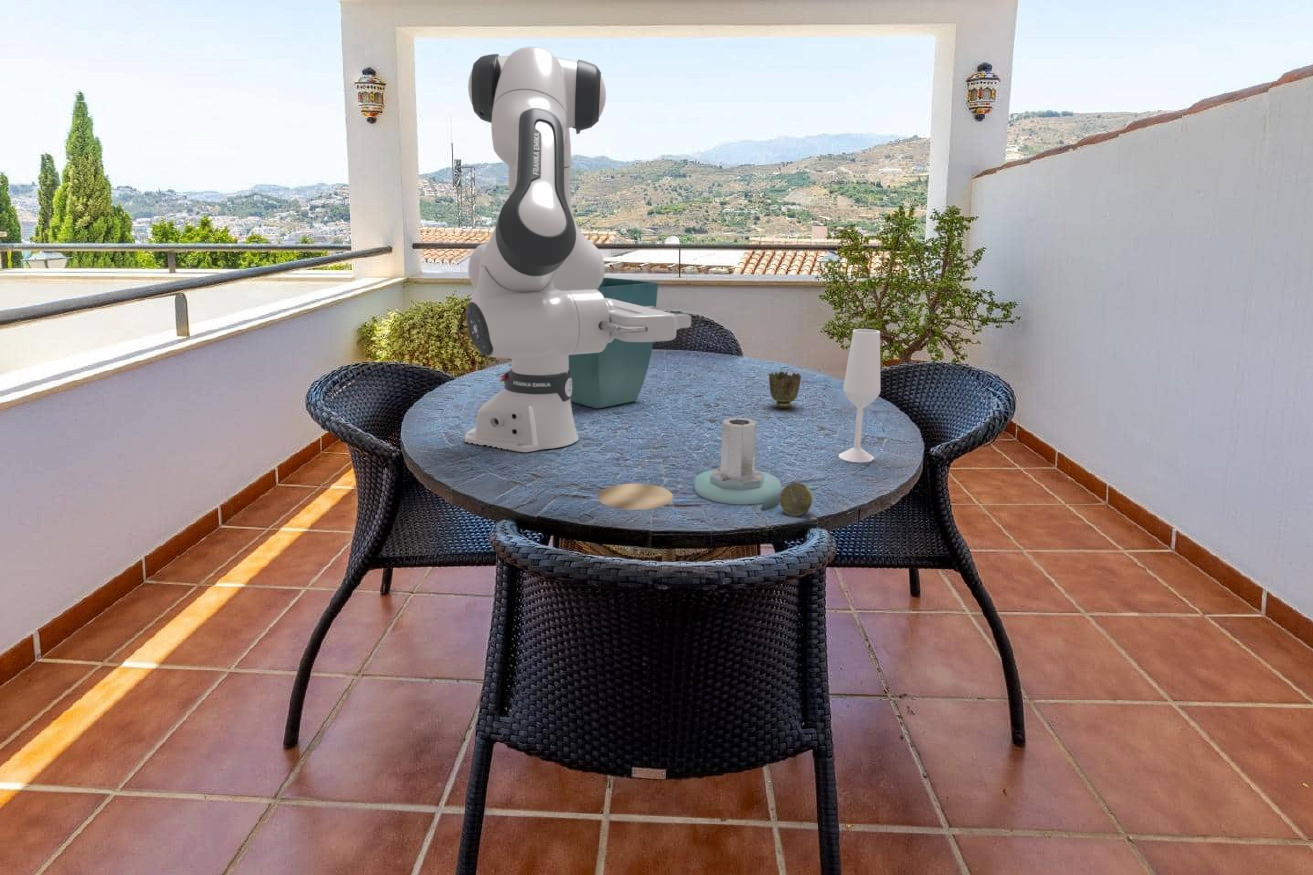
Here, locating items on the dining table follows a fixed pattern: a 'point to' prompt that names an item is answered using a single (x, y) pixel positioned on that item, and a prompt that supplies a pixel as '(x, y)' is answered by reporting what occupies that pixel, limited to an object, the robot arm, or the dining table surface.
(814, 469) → the dining table surface
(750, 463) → the sleeve
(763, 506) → the hub
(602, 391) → the flower pot
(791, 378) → the cup
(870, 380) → the champagne flute
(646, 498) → the stand
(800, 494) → the lime
